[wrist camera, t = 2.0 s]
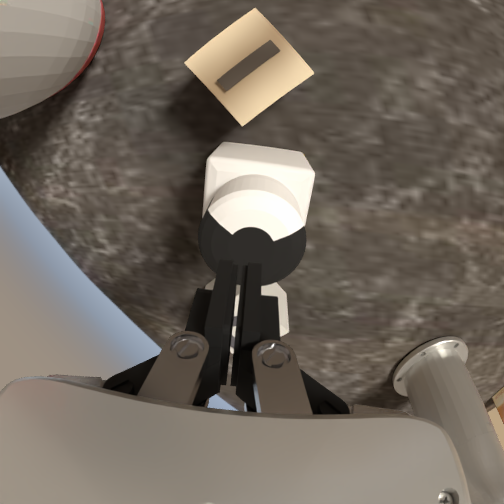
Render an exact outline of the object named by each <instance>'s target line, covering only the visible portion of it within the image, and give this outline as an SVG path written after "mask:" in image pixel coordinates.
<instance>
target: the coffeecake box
mask: <svg viewBox="0 0 504 504" xmlns="http://www.w3.org/2000/svg"><path fill="white" fill-rule="evenodd" d="M492 399H493V401H494V403H495V406H496V408H497V410H498V412H499V414H500V417H501V419H502V421H503V424H504V387H503V388H502V389H501V390H499V391H498V392H497V393H496V394H495V395H494V396H493V397H492Z"/></svg>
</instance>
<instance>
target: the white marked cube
mask: <svg viewBox="0 0 504 504" xmlns="http://www.w3.org/2000/svg"><path fill="white" fill-rule="evenodd" d="M214 283H215V279H214V280H213V281H211V282H210V283H208V284H207V285H206V287H205V289H208V290H213V287H214ZM239 294H240V285H237V286H236V298H235V310H234V321H233V329H232V338H231V346H230V352H231V353H234V342H235V331H236V321H237V312H238V303H239ZM261 295H267V296H277V297H278V306H279V324H280V337H281V336H283V335H285V334H286V333H288V332H289V325H288V310H287V296H286V293H285V292H284V291H283V290H282V288H281V287H280V286H279V285H278V284H277V283H273V284H270V285H266V286H261Z"/></svg>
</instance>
